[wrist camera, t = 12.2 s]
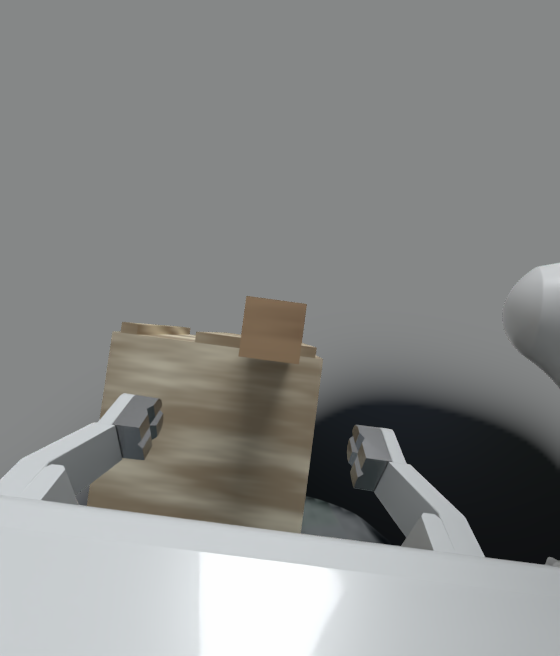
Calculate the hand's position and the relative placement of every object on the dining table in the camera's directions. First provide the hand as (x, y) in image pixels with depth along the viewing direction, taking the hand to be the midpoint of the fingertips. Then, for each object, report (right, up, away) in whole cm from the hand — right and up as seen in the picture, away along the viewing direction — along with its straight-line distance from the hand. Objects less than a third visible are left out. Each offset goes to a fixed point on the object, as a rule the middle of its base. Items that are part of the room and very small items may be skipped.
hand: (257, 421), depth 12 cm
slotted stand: (-8, -24, +22) cm, 33 cm away
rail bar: (0, +2, +16) cm, 16 cm away
